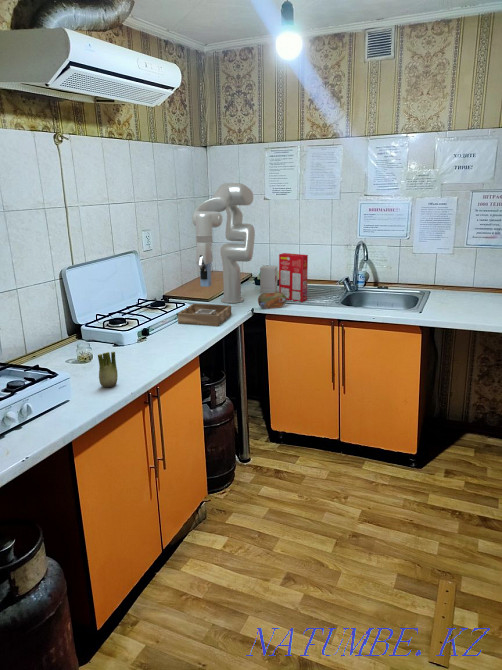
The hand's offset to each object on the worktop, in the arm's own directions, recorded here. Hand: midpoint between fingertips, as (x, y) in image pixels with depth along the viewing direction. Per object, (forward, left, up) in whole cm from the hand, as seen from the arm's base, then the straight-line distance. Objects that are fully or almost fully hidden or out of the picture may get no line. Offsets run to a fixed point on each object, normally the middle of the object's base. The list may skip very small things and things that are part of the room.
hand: (205, 278), depth 248 cm
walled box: (+3, 0, -20) cm, 20 cm away
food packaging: (-46, +33, -20) cm, 60 cm away
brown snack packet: (-26, +26, -20) cm, 42 cm away
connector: (0, 0, -4) cm, 4 cm away
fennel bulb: (+88, -2, -20) cm, 90 cm away
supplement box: (-63, +15, -20) cm, 68 cm away
